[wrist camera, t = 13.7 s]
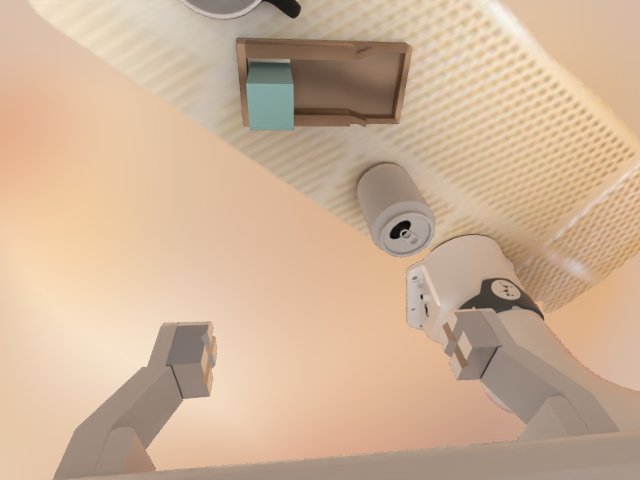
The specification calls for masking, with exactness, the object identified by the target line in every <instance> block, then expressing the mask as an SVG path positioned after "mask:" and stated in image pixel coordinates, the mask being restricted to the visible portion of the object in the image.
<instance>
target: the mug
mask: <svg viewBox="0 0 640 480" xmlns="http://www.w3.org/2000/svg"><path fill="white" fill-rule="evenodd" d="M180 1H181V2H182V3H183V4H184V5H186V6H187V7H188V8H190V9H191V10H193V11H195V12H197V13H199V14H201V15H203V16H206V17H210V18H214V19H233V18H237V17H240V16H243V15H245V14H247V13H249V12H250V11H252V10H253V9H254V8H256V7H257V6H258V5H259V4H260V3H261V2H264V1H266V2H269V3H271V4H273V5H275V6H276V7H277V8H279V9H280V10H281V11H282V12H284V13H285V14H286V15H288V16H289V17H291V18H296V17H297V16H298V15H299V13H300V10H301V6H300V5H299V4H298V3H297V2H296V1H295V0H180Z"/></svg>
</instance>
